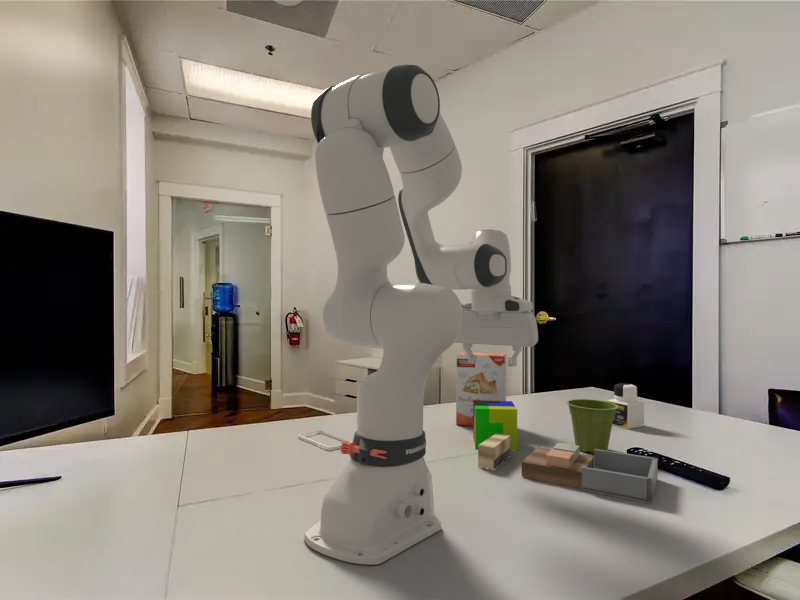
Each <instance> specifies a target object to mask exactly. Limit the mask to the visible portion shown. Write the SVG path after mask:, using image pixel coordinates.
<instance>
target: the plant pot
mask: <svg viewBox="0 0 800 600" xmlns="http://www.w3.org/2000/svg"><path fill="white" fill-rule="evenodd" d="M566 404H567V405H568V410H569V414H570V418H571V424H572V430H573V431H572V432H573V438H574V445H578V446H580V452H583V453H588V452H590V453H591V454H594V449H600V450H607V451H608V450H609V443H610V439H611V433H612V430H613V429H612V427H613V425H612V423H613V418H614V417H615V413H616V409H618V408H619V406H618V405H616V404H614V403H611V402H607V401H605V400H600V399H592V398H591V399H590V398H587V399H586V398H577V399H576V398H574V399H573V398H572V399H568V400H567V401H566Z"/></svg>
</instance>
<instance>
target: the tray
mask: <svg viewBox="0 0 800 600" xmlns="http://www.w3.org/2000/svg"><path fill="white" fill-rule="evenodd" d="M593 456H594V468H589V467H583V466H582V488H581V491H584V492H589V493H595V494H599V495H606V496H609V497H610V496H611V497H615V498H620V499H625V500H629V501H636V502H641V503H645V504H651V505H652V504H653V501H654V497H655V492H656V488H657V484H658V473H659V472H658V470H659V469H658V468H659V467H658V463H659V462H658V460H659V459H658V458H657V457H652V456H645V455H639V454H632V453H626V452H625V453H624V452H621V451H619V452H618V451H612V450H608V449H607V450H600V449H594V453H593Z"/></svg>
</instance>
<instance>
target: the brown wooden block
mask: <svg viewBox="0 0 800 600" xmlns="http://www.w3.org/2000/svg"><path fill="white" fill-rule="evenodd" d="M551 449H552V448H546V447H539V446H537V447H536V448H535V449H534V450H533V451H532V452H531V453H529V454H528V455H527V456H526V457H525V458H524V459H523V460H522V461H521V477H522V476H524V477H523V478H527V477H528V479H532V478H534V479H533V480H537V479H538V481H544V482H548V483H552V484H553V483H554V484H558V485H564V486H569V487H573V488H574V487H575V488H579V489H582V466H583V467H589V468H594V455H590V454H589V455H588V454H584V453H580V455H579V456H578V458H577V459H576V460H575V461H574V463H573V464H572V466H571V467H570V468H569V469H567V468H562V467H556V466H550V465H546V454H547V453H548V452H549V451H550V450H551Z"/></svg>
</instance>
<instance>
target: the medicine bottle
mask: <svg viewBox="0 0 800 600" xmlns="http://www.w3.org/2000/svg"><path fill="white" fill-rule="evenodd" d="M613 387H614V388H613V397H614V398H613V399H607V402H611V403H614V404H616V405H618V406H619V408H618V409H616V413H615V417H614V418H613V423H612V426H615V427H619V428H622V429H625V430H631V429H636V428H643V427H645V403H644V401H639V400H637V399H638V387H637V386H636V385H634V384H632V383H624V382H623V383H621V382H620V383H616V384H614V386H613Z"/></svg>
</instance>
